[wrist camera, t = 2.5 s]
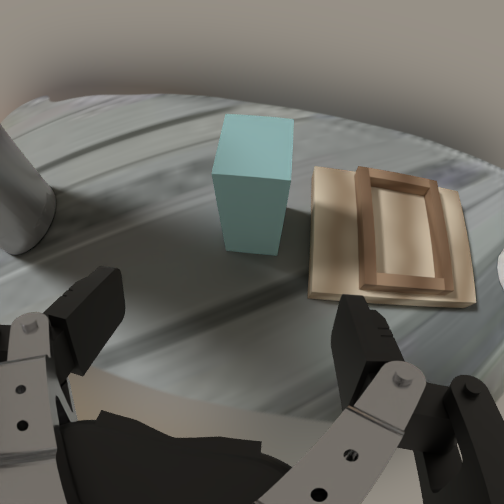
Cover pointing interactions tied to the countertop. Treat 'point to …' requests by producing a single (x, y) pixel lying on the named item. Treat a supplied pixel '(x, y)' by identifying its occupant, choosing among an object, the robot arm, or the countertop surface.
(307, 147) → the countertop surface
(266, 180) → the pale teal block
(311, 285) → the tan flat rimmed tray
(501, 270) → the white cup
